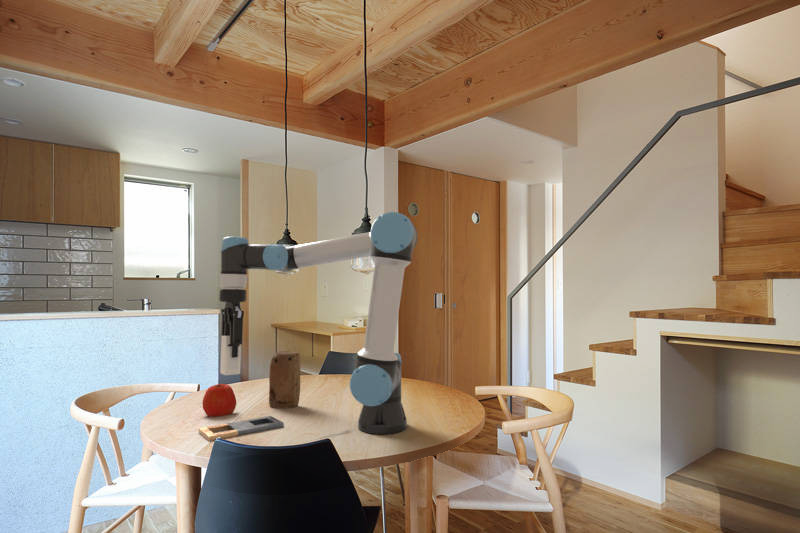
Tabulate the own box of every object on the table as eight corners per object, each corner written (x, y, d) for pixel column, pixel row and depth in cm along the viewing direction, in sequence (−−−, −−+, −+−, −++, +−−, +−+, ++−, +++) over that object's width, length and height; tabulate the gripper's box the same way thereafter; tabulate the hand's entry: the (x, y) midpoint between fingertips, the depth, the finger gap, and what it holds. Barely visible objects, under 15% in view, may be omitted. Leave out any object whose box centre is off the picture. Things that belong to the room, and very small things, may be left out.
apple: (202, 412, 162) (203, 381, 163) (235, 409, 166) (236, 379, 166) (201, 420, 152) (202, 387, 153) (236, 417, 156) (237, 385, 156)
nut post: (240, 373, 138) (241, 336, 139) (224, 375, 136) (226, 337, 136) (235, 371, 142) (236, 335, 143) (220, 372, 139) (221, 335, 140)
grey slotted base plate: (283, 429, 143) (283, 422, 143) (208, 444, 129) (209, 436, 129) (270, 422, 150) (270, 415, 151) (198, 435, 137) (198, 428, 137)
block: (301, 405, 173) (302, 350, 174) (296, 410, 165) (296, 353, 166) (272, 404, 173) (273, 350, 174) (265, 409, 166) (266, 353, 167)
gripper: (256, 289, 135) (253, 370, 134) (236, 288, 149) (233, 362, 148) (229, 288, 131) (226, 372, 130) (212, 288, 145) (208, 364, 144)
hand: (230, 367), depth 139 cm, fingers closed on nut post, 4 cm apart
